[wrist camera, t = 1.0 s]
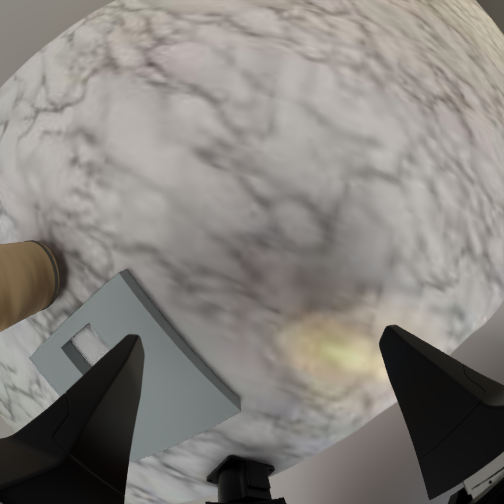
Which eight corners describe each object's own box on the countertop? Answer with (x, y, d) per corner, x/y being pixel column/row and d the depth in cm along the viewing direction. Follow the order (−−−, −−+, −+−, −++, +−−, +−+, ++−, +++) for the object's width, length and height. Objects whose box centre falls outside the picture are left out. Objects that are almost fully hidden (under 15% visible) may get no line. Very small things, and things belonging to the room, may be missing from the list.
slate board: (239, 399, 24) (241, 411, 22) (135, 451, 23) (132, 462, 21) (126, 269, 22) (118, 272, 20) (38, 351, 21) (29, 357, 19)
